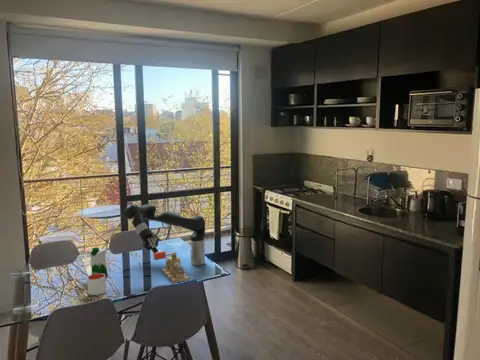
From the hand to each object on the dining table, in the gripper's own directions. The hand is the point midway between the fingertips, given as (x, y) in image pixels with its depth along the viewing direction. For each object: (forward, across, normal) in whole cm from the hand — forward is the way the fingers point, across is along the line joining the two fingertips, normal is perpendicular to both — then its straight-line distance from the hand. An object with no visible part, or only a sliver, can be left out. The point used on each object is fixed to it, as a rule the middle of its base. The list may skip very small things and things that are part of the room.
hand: (156, 253), depth 259 cm
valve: (+15, -9, -8) cm, 20 cm away
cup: (+3, +35, -20) cm, 41 cm away
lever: (+4, -4, 0) cm, 6 cm away
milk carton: (-11, +21, -35) cm, 42 cm away
